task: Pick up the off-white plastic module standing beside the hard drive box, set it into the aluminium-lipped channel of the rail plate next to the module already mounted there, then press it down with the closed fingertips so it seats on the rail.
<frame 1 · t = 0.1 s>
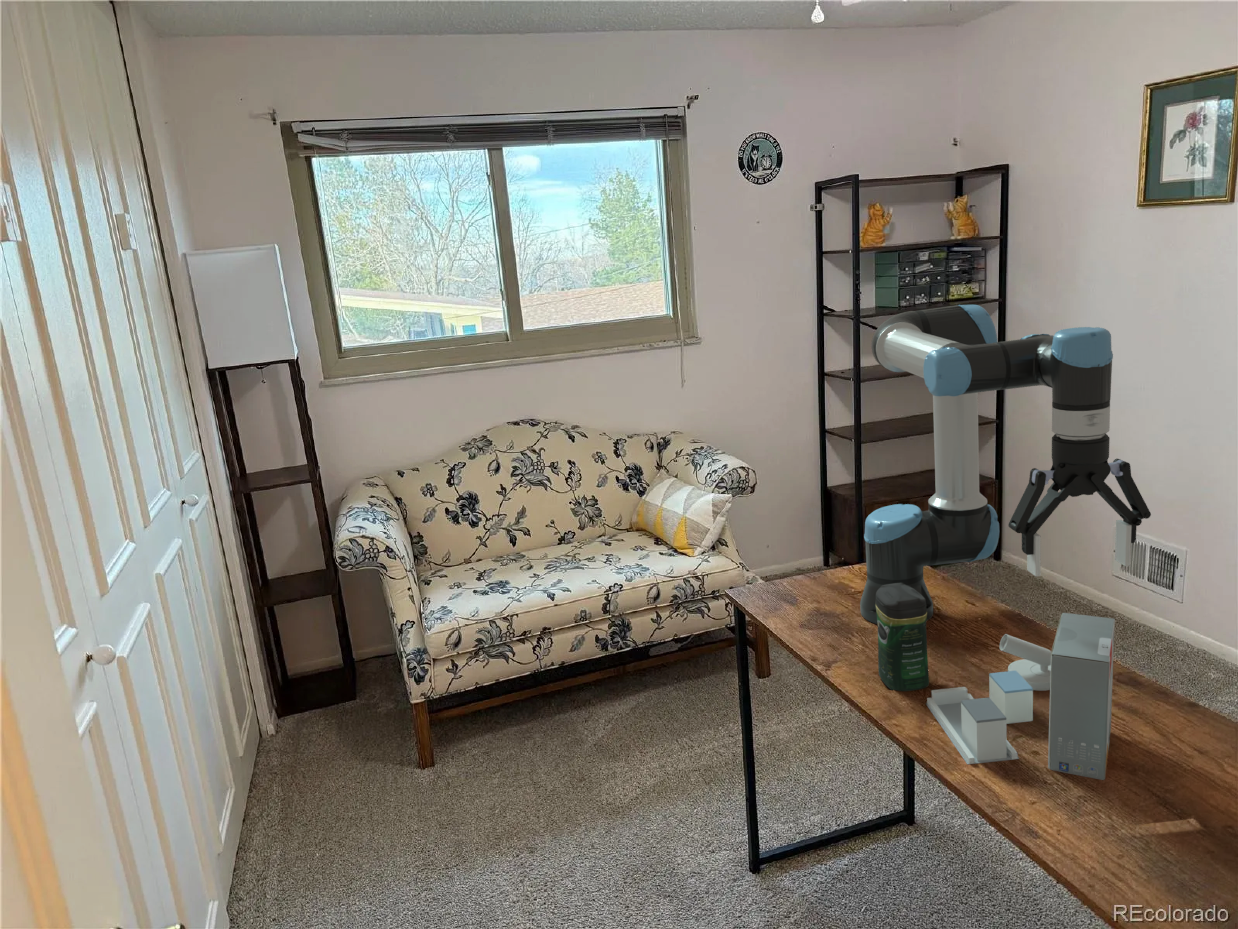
hand: (1078, 568, 130), 28 cm above the table, tool pointing down, fingers open, 13 cm apart
hard drive box: (1080, 753, 131), on the table
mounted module: (983, 748, 133), resting on rail
module: (1010, 718, 142), on the table
wall hook: (1030, 684, 152), on the table
coffee jar: (903, 683, 157), on the table
rail: (969, 734, 139), on the table
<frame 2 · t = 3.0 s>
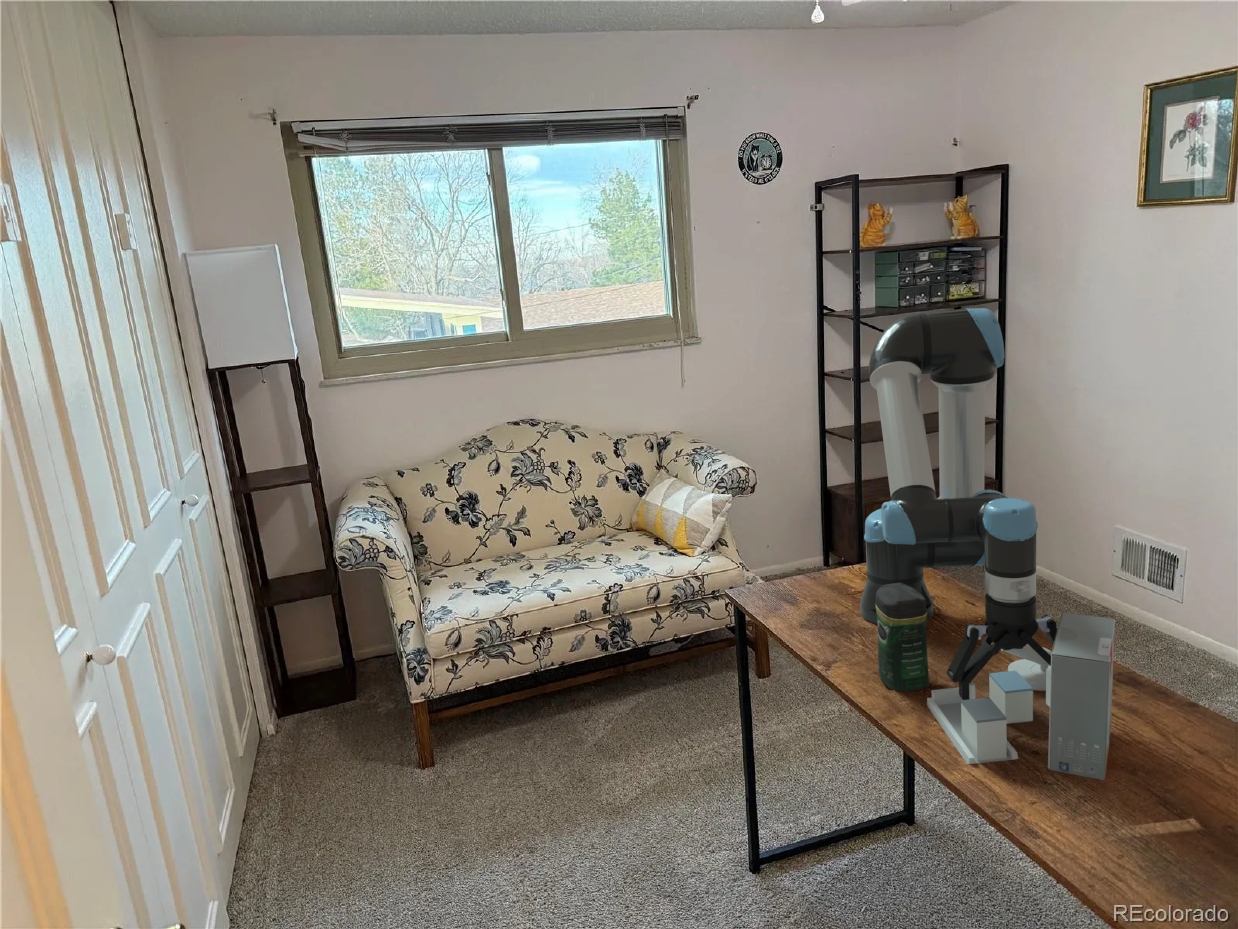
hand: (1011, 712, 142), 1 cm above the table, tool pointing down, fingers open, 13 cm apart
nothing on the table moved.
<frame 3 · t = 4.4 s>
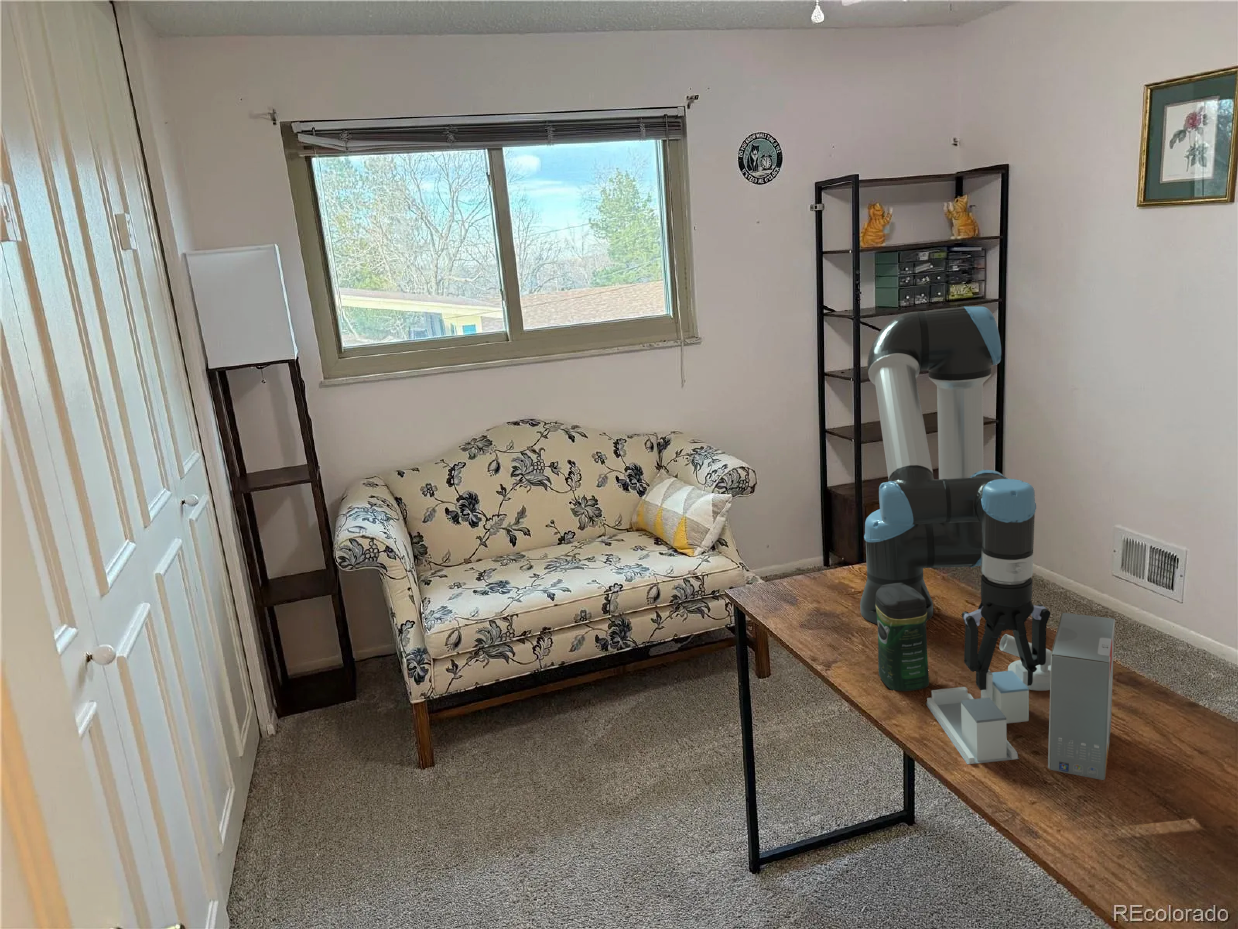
hand: (1003, 703, 142), 3 cm above the table, tool pointing down, fingers open, 5 cm apart
module: (1006, 718, 142), on the table, touching gripper
everything else where it was.
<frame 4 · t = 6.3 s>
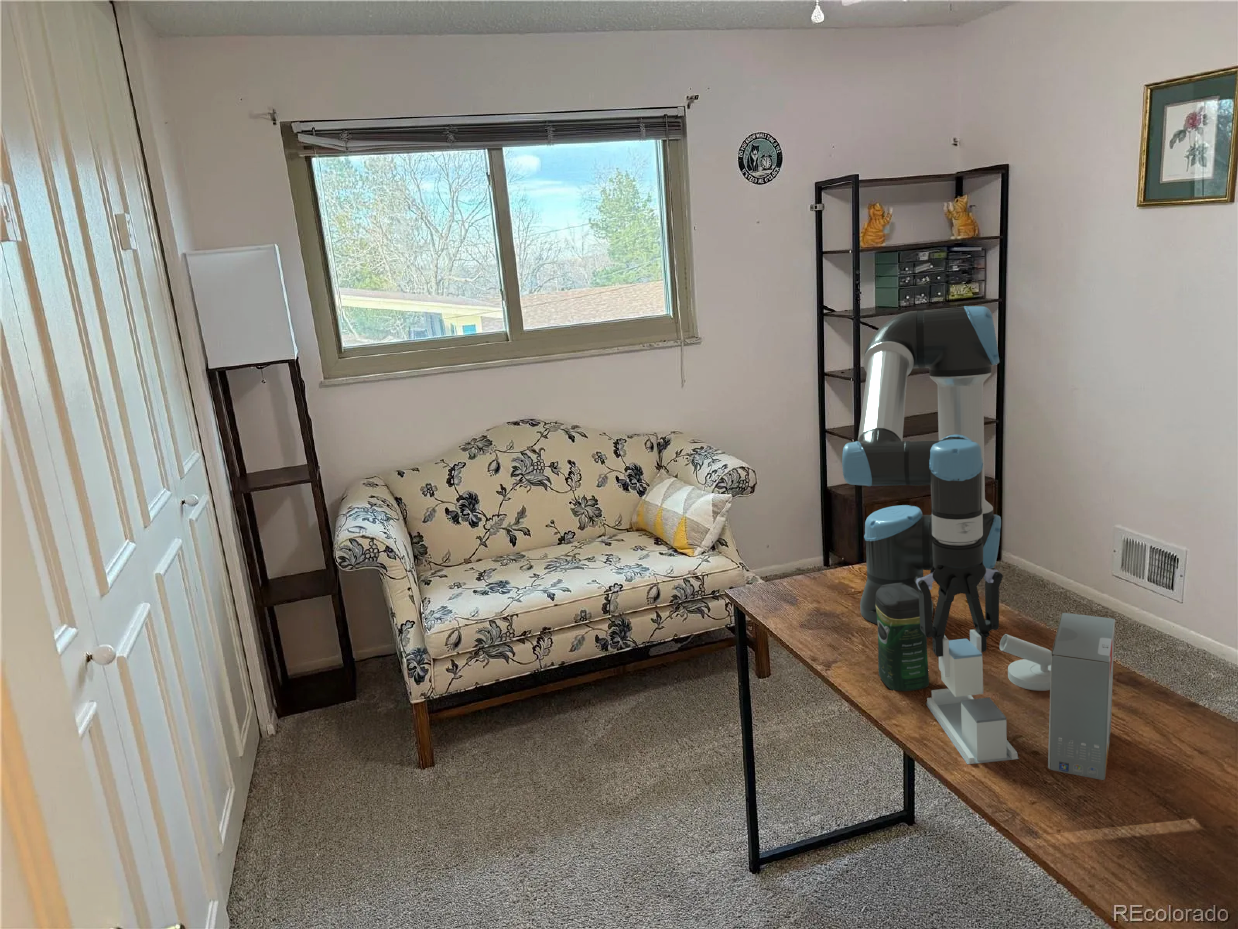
hand: (960, 670, 140), 10 cm above the table, tool pointing down, fingers closed on module, 4 cm apart
module: (961, 686, 140), point 7 cm above the table, touching gripper
everything else where it was.
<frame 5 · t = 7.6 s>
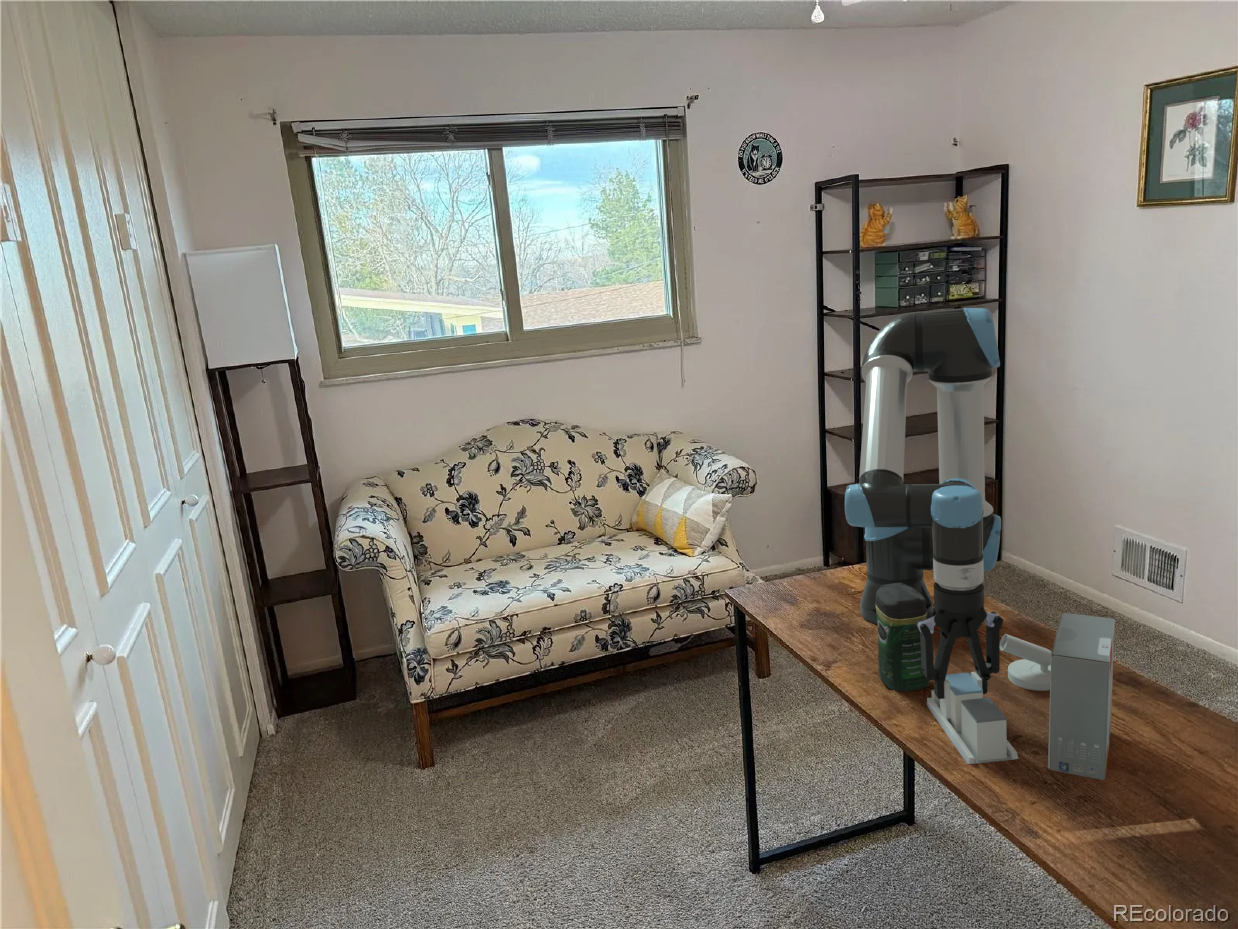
hand: (961, 712, 141), 2 cm above the table, tool pointing down, fingers closed on module, 4 cm apart
module: (962, 720, 141), point 1 cm above the table, touching gripper, rail
everything else where it was.
when the fingers open (2 cm above the table, at t = 9.0 s): module stays where it is, resting on rail.
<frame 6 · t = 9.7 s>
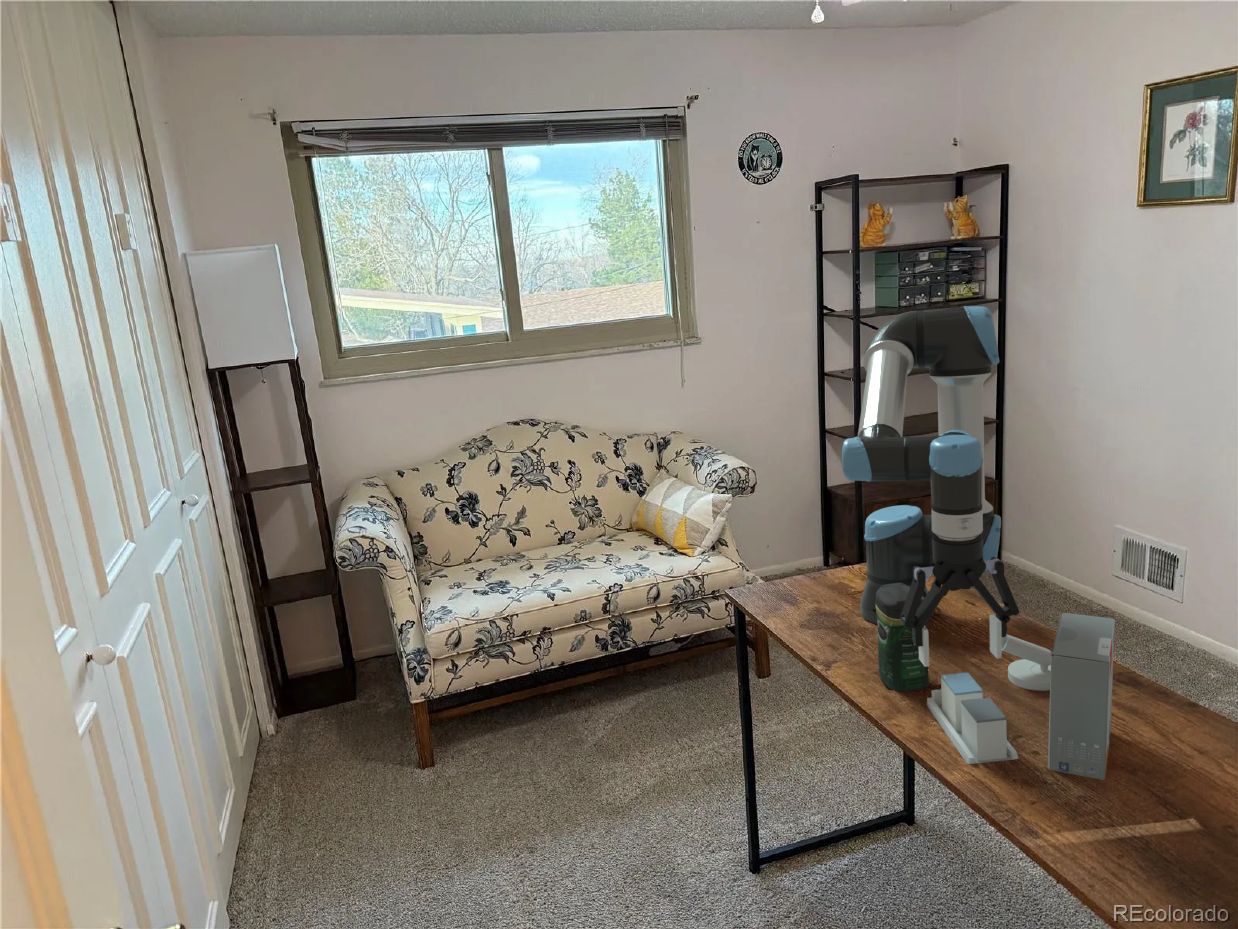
hand: (959, 658, 139), 12 cm above the table, tool pointing down, fingers open, 11 cm apart
module: (962, 720, 141), point 1 cm above the table, touching rail
everything else where it was.
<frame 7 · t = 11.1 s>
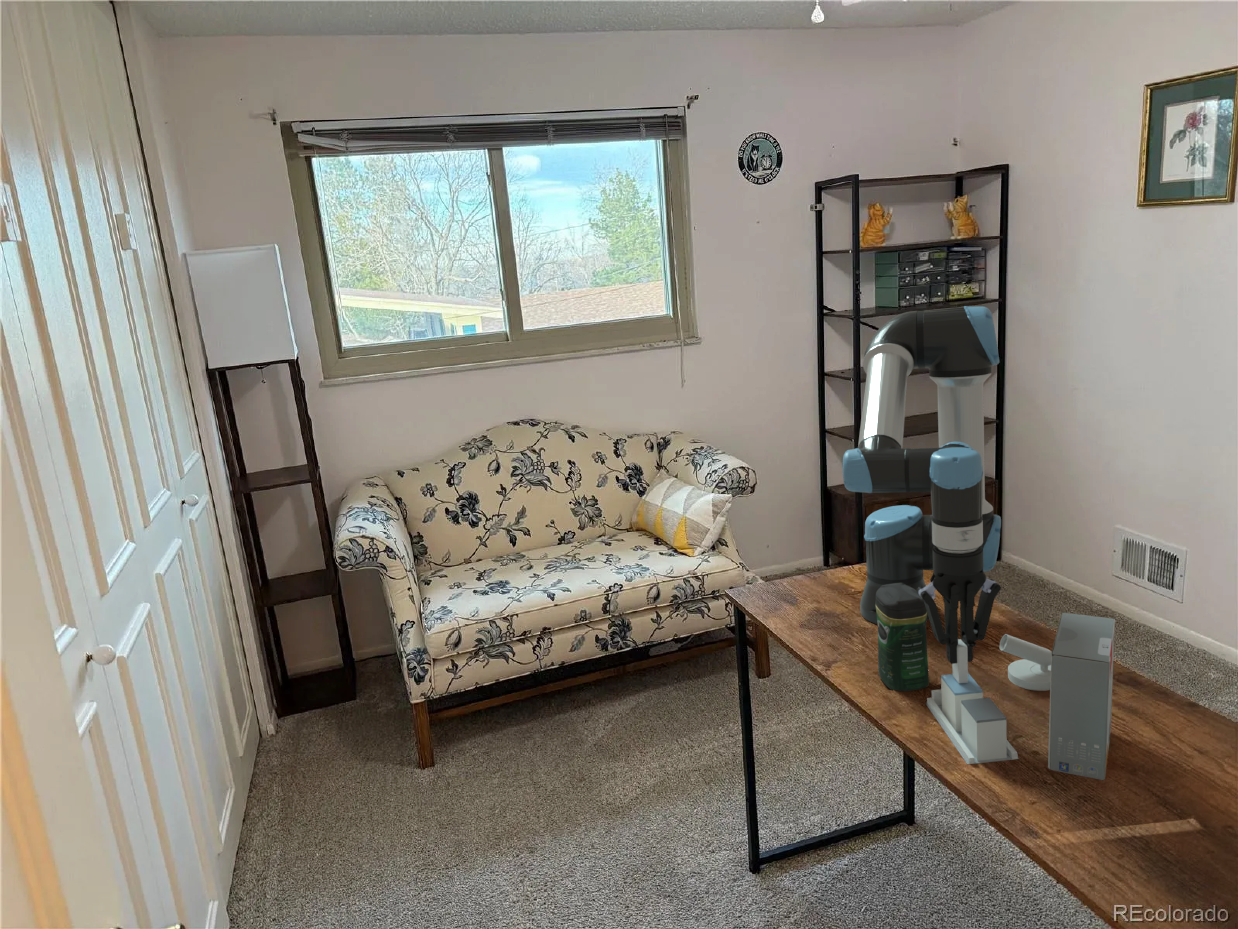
hand: (960, 678, 140), 8 cm above the table, tool pointing down, fingers closed
module: (962, 720, 141), point 1 cm above the table, touching gripper, rail
everything else where it was.
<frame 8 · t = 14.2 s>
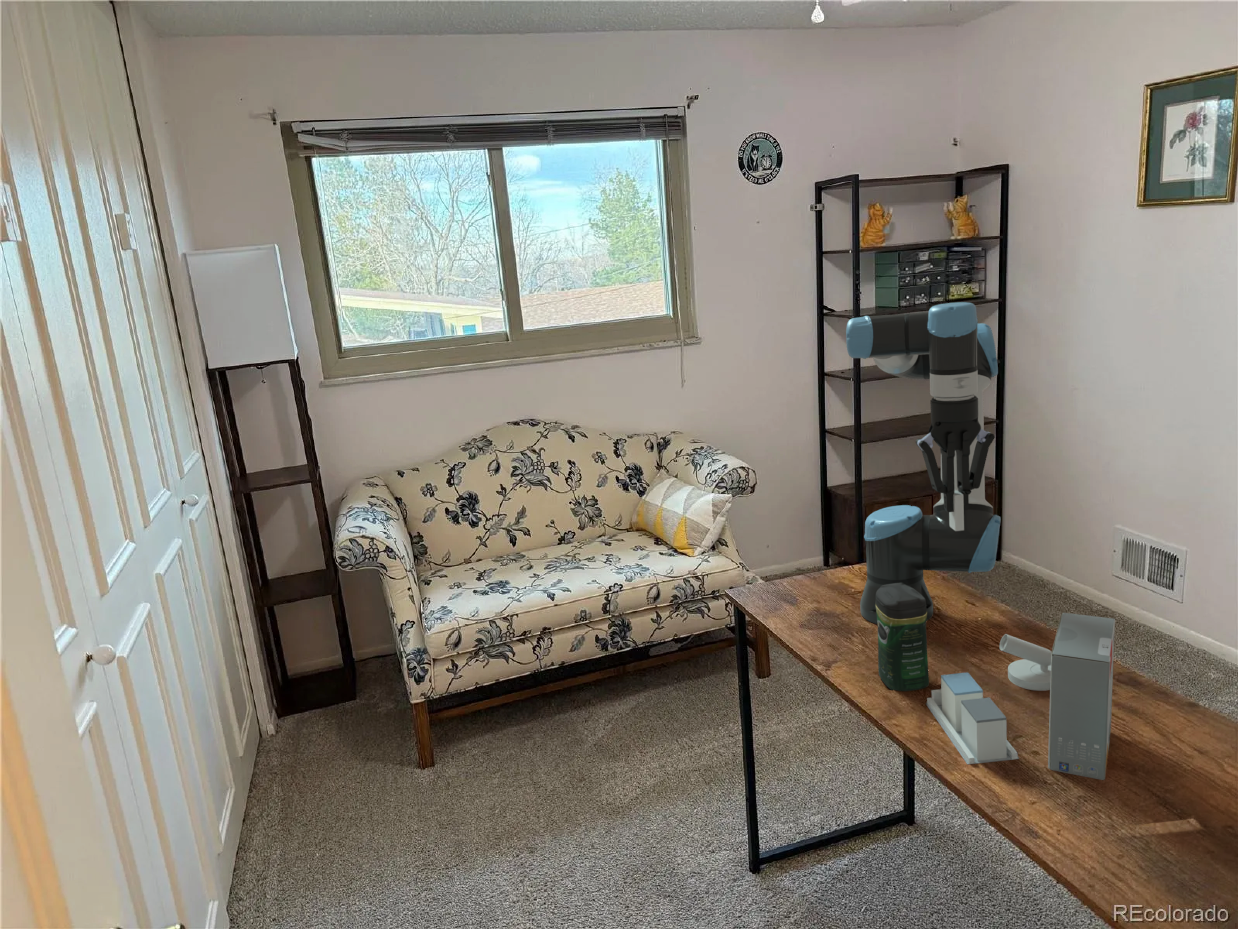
hand: (956, 528, 148), 29 cm above the table, tool pointing down, fingers closed
module: (962, 720, 141), point 1 cm above the table, touching rail
everything else where it was.
at the end: module 0.2 cm from the target spot on the rail, point 1.0 cm above the rail's base; module tilted 0°; the gripper is holding nothing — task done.
